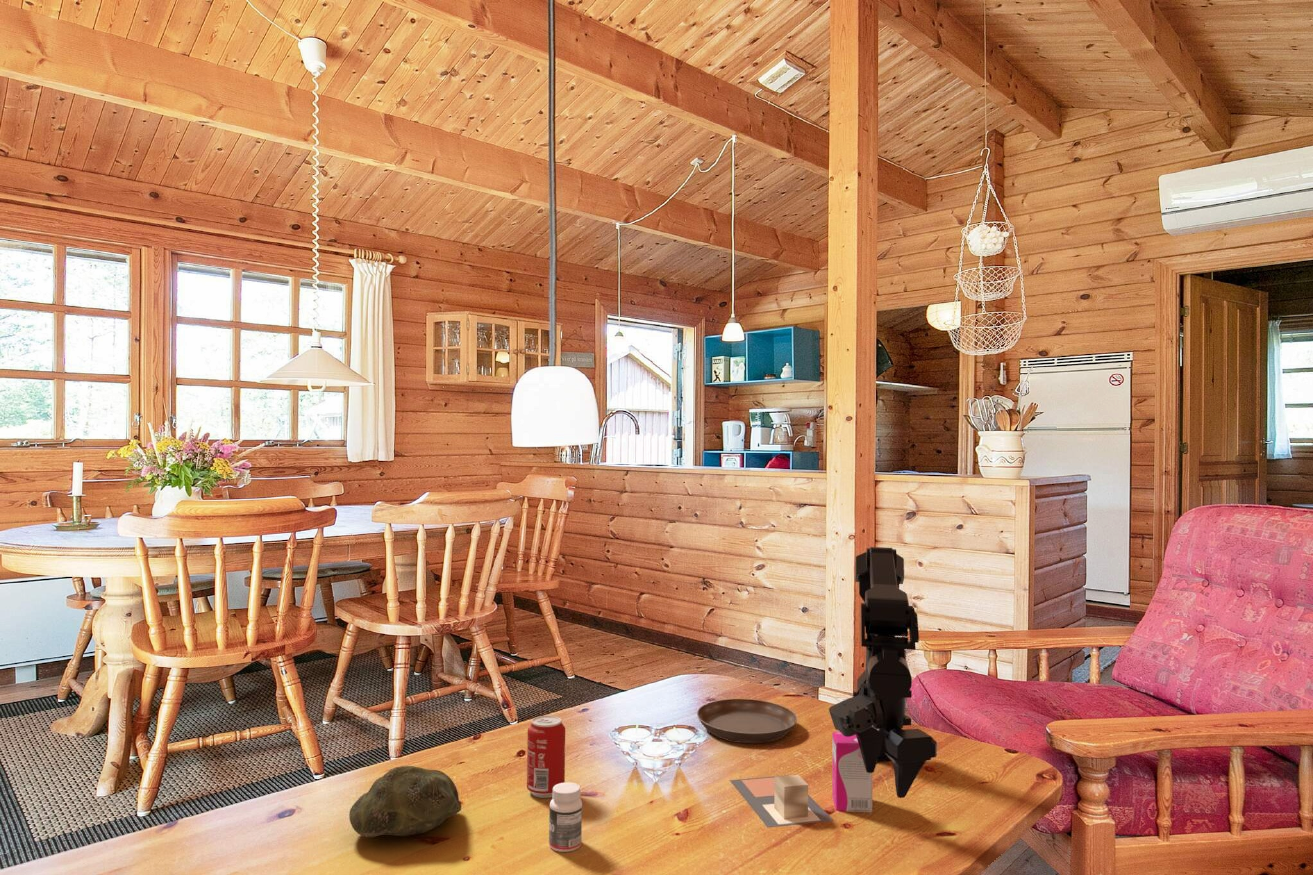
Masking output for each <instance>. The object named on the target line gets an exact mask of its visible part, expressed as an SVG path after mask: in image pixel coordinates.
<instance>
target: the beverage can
mask: <svg viewBox="0 0 1313 875" xmlns="http://www.w3.org/2000/svg"><path fill="white" fill-rule="evenodd" d="M562 721H563V720H562V718H560V717H558V716H555V715H541V716H537V717H534V718H532V719H531V724H530V725H529V726H528V728H527V736H526V737H527V738H526V740H527V743H526V744H527V747H526V788H527V790H528V791H529V792H530V793H531V795H532V796H534V797H536V798H541V799H548V798H552V794H553V787H554V786H555V785H557V784H559V783H565V780H566V779H565V778H566V774H565V773H566V769H565V768H566V726H565V725H564V724H563V723H562Z"/></svg>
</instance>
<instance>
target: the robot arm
mask: <svg viewBox="0 0 1313 875" xmlns="http://www.w3.org/2000/svg"><path fill="white" fill-rule="evenodd" d="M904 581H905V558H904V557H902V556H901V555H899V554H898V553H897V549H895V548H893V547H882V546H879V547H878V546H870V547H867V548H866V551H865V552H862V553H860V554H858V555H856V556H855V562H854V582H855V583H858V594H859V596H860V598H861V599H862V602H860V646H861V647H863V648H864V647H865V666H864V667H865V669H864V671H863V672H862V673H861V675H859V676H858V678H857V680H856V691H852V696H851V697H849V698H847V699H845V700H842V701H840V702H838V703H836V704H833V705H832V706H830V707H829V708H828V712H829V715H830V717H831V720H832V724H833V727H834V729H835V730H836V731H837V732H841V733H842V734H843V735H844V736H846V737H850V736H853V735H856V737H857V740H858V743H859V747H860V750H861V754H862V758H863V761H864V765H865V769H866V772H867V773H872V774H873V773H874V772H875V770H876V766H877V763H878V762H883V761H884V762H885V761H892V763H893V771H894V773H893V774H894V783H895V785H894V786H895V792H896V796H897V798H898V799H904V798H906V796H907V794H908V792H909V791H910V789H911V787H912V786H913V783H914V782H915V779H916V778H917V776H918V775H919V773H920V771H921V770H922V768H923V766H924V765H925V763H926V762H927V761H931V760H932V758H937V756H938V742H937V741H936V740H935V739H934V738H933V737H932V736H931V735H929V734H928V733H927V732H925V731H924V730H921V729H920V728H908V729H903V728H904V726H912V718H911V717H909V716H907V714H906V708H907V707H906V706H907V704H906V703H907V702H906V699H909V698H912V695H913V694H912V690H911V688H912V685H913V682H912V681H913V678H912V674H911V671H910V669H909V665H908V662H907V651H906V650H911V651H913V650H914V651H916V643H919V641H920V635H919V621H918V620H919V619H918V613H917V612H916V611H915V607H914V606H913V605H910V603H909V596H908V593H906V592H905V591H903V590H902V589H901V588H900V585H903V584H904ZM908 636H909V637H908Z"/></svg>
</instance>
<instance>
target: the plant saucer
mask: <svg viewBox="0 0 1313 875" xmlns="http://www.w3.org/2000/svg"><path fill="white" fill-rule="evenodd" d="M696 715H697V716H696V717H697V718H698V720H699V722H700V723H701V725H702V726H703V727H704V728H705V729H706V730H707V731H708V732H709V733H711V735H713V736H715V737H717V738H720V739H722V740H726V741H730V742H735V743H743V744H744V743H745V744H746V743H747V744H762V743H769V742H775V741H777V740H779V739H782V738H783V737H785V736H786V735H787V734H788V733H789V732H791V731H792V729H793V728H794V727H795V725H796V723H797V721H798V717H797V715H796V714H795V713H794V712H793V710H790V709H789V708H787V707H785V706H783V705H780V704H777V703H774V702H770V701H764V700H761V699H760V700H759V699H751V698H729V699H720V700H715V701H711V702H709V703H706V704H704V705H702V706H700V707H699V708H698V710H697V712H696Z"/></svg>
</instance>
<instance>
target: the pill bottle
mask: <svg viewBox="0 0 1313 875" xmlns="http://www.w3.org/2000/svg"><path fill="white" fill-rule="evenodd" d="M580 797H581V786H580V785H579V784H578V783H575V782H567V781H566V782H565V783H559V784H557V785H555V786H554V787H553V794H552V797H551V800H550V801H549V819H548V820H549V821H548V822H549V824H548V827H549V828H548V829H549V831H548V832H549V833H548V845H549V847H550V849H552V850H553V851H555V852H559V853H560V852H561V853H569V852H574V851H576V850H578V849H579V848H580V847H581V845H582V842H583V841H582V839H583V837H582V831H583V830H582V827H583V826H582V825H583V824H582V822H583V801H582V799H581V798H580Z"/></svg>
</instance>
